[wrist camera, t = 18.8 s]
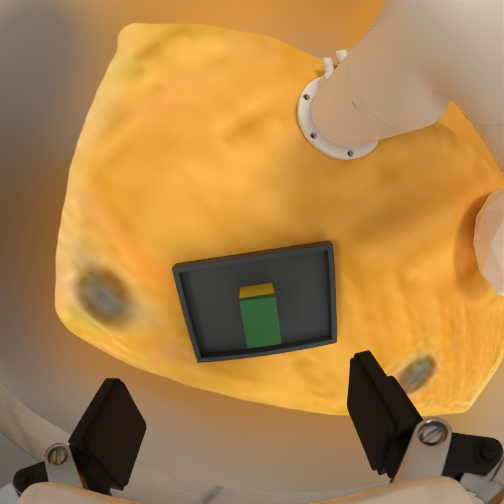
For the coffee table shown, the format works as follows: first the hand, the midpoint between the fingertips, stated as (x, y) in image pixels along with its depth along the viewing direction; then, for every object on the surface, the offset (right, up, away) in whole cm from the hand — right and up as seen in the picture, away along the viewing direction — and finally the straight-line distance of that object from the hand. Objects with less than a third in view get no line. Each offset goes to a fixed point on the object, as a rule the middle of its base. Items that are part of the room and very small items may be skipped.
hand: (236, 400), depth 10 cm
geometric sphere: (+45, +10, +28) cm, 54 cm away
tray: (+2, -2, +30) cm, 30 cm away
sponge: (+2, -2, +29) cm, 29 cm away
